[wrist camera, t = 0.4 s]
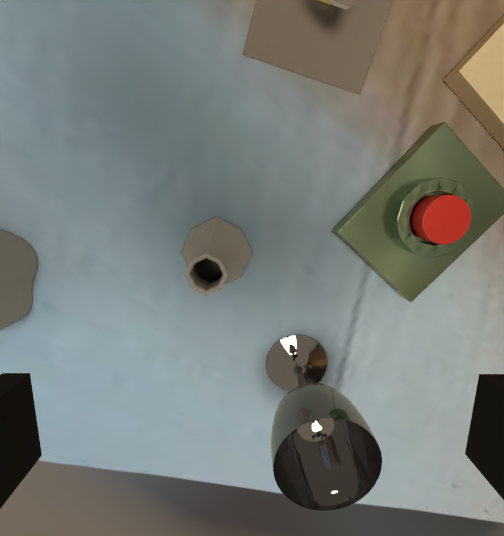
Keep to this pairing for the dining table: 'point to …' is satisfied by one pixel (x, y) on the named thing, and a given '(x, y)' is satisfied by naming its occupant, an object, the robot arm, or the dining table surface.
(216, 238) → the flask
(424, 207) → the button
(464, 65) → the timer panel
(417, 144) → the button housing
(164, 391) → the dining table surface
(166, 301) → the dining table surface
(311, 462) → the wine glass
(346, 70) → the platform
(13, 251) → the lumpy-topped squat cylinder
